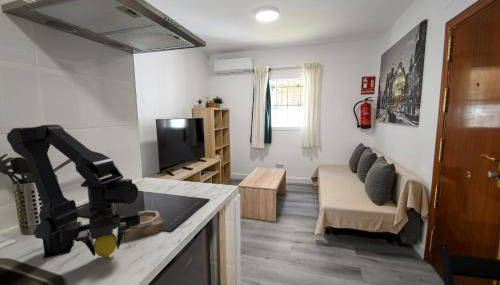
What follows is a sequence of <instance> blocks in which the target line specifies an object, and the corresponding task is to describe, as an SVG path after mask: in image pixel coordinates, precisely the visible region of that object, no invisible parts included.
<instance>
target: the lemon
mask: <svg viewBox="0 0 500 285" xmlns="http://www.w3.org/2000/svg"><path fill="white" fill-rule="evenodd" d="M94 249H95V252H96V254H95V255H98V257H102V258H104V257H105V258H108V257H109V256H110V255H112V254H113V253H114V252H115V251H116V249H117V236H116V234H114V233H112V234H111V235H109V236H103V237H99V238H97V239H94Z"/></svg>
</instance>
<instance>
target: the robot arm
mask: <svg viewBox="0 0 500 285" xmlns="http://www.w3.org/2000/svg"><path fill="white" fill-rule="evenodd" d="M6 140H7V142H8V144H9V145H10V146H11V148H12V150H13V152H15V153H16V154H17V155H19V156H21V157H22V158H24V159H25V162H26V166H28V170H29V172H30V175H31V178H32V180H33V182H34V185H35V189H36V190H37V193H38V196H39V198H40V201H41V203H42V204H41V208H40V211H39V213H38V218H39V223H38V224H37V226H36V227H35V229H34V230H33V235H34V237H35V239H38V240H39V239H40V240H42V246H43V255H42V259H47V258H51V257H55V256H59V255H62V254H66V253H67V254H68V253H69V252H71V251H72V249H73V247H74V246H75V243H76V242H77V243H78V242H81V243H83V244H84V245H86V247H87V248H88V250H89V252H90V253H91V254H92V256H94V257H95V256H96V255H97V254H96V252H95V249H94V244H95V240H96V239H97V238H99V237H103V236H109V235H111V234H112V233H113V232H114V230H117V232H116V233H117V235H116V240H117V246H116V249H117V250H120V246H121V242H122V239H123V236H124V235H125V230H128V229H129V227H131V226H135V225H139V224H140V215H139V212H140V211H139V210H138V209H135V210H129V211H125V212H124V215H122V216H121V215H120V213H117V214H115V205H114V204H122V205H123V204H125V205H131V204H134V203H135V202H136V201H137V198H138V196H139V188H138V186H137V184H135V183H133V180H132V178H126V179H125V178H124V175H123V174H122V172H121V171H120V169H118V167H117V165H115V163H114V160H113V159H112V158H111V157H109V156H107V155H105V154H103V153H101V152H96V151H93V150H91V149H90V148H88V147H87V146H85V145H84V144H83V143H81V142H80V141H79V140H77V139H76V138H75V137H74V136H72V135H71V134H70V133H68V132H67V131H66V130H65V129H64V127H63V126H62V125H59V124H41V125H40V126H39V125H38V126H32V127H29V126H28V127H13V128H12V129H10V131H9V132H7V135H6ZM51 146H52V147H53V148H55V149H56V150H58V151H59V152H60V153H61V154H63V155H64V156H65V157H67V158H68V159H69V160H70V161H71V162H72V163H74V165H75V171H76V172H77V173H78V174H79V175H80V176H81V177H82V179H84V181H83V182H81V184H80V187H82V188H87V196H88V198H87V199H88V204H89V206H88V207H89V216H90V217H89V219H88V222H89V223H86V224H83V223H82V221H78V218H79V211H80V210H79V208H78V207H77V204H76V201H75V200H74V199H70V200H69V199H68V198H66V197H65V196H64V194H63V191H62V189H61V186H60V183H59V181H58V179H57V178H58V177H57V175H56V173H55V170H54V167H53V165H52V162H51V160H50V157H49V154H48V153H49V150H50V147H51ZM113 234H114V233H113Z"/></svg>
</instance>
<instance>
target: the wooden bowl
mask: <svg viewBox="0 0 500 285" xmlns="http://www.w3.org/2000/svg"><path fill="white" fill-rule="evenodd" d="M139 215H140V224H139V225H135V226H131V227H129V229H128V230H125V232H124V236H125V241H128V240H132V239H135V238H136V239H137V238H139V237H143V236H147V235H150V234H154V233H158V232H162V231H164V222H163V219H162V217H161V215H160V212H159V210H143V211H142V210H141V211H139Z"/></svg>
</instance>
